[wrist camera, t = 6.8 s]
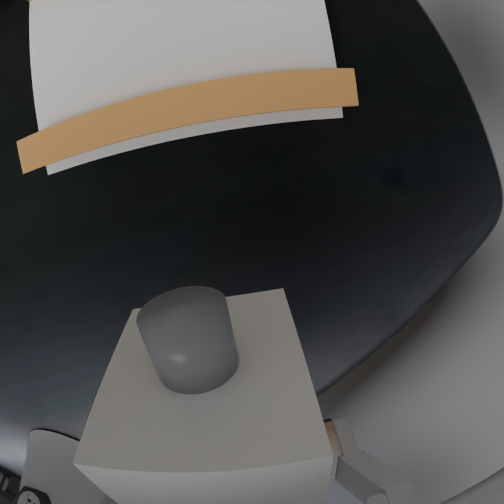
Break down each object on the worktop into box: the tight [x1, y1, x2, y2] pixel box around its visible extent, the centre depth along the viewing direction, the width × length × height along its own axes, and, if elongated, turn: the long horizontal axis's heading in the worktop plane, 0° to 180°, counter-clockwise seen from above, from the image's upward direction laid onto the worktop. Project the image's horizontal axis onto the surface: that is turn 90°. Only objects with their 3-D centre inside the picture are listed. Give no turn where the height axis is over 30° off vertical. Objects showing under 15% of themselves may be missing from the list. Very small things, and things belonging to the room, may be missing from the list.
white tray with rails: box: [17, 0, 359, 175], centre depth 11 cm, size 12×14×6 cm
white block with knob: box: [73, 286, 333, 504], centre depth 9 cm, size 12×5×6 cm, turn 8°
